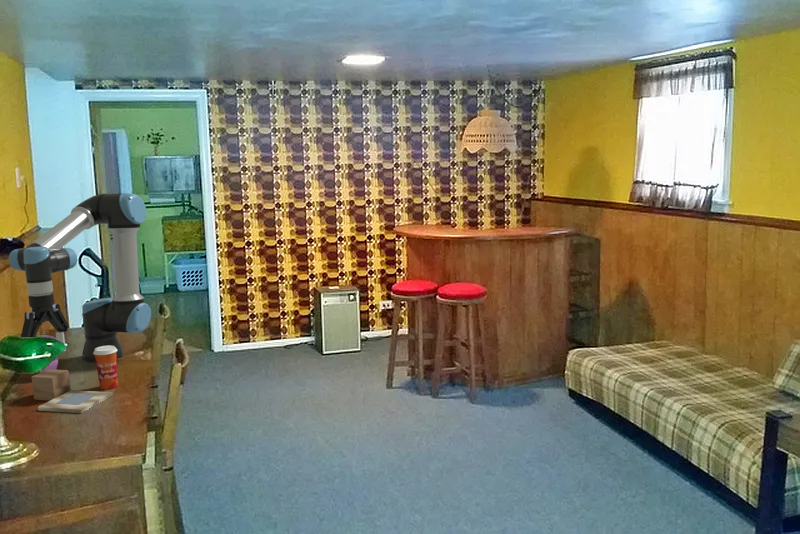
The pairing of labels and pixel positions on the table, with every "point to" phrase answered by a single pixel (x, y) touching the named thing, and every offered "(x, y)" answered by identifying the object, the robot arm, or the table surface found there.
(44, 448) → the table surface
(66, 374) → the walnut block
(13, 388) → the table surface
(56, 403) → the blueprint plate
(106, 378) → the paper cup
